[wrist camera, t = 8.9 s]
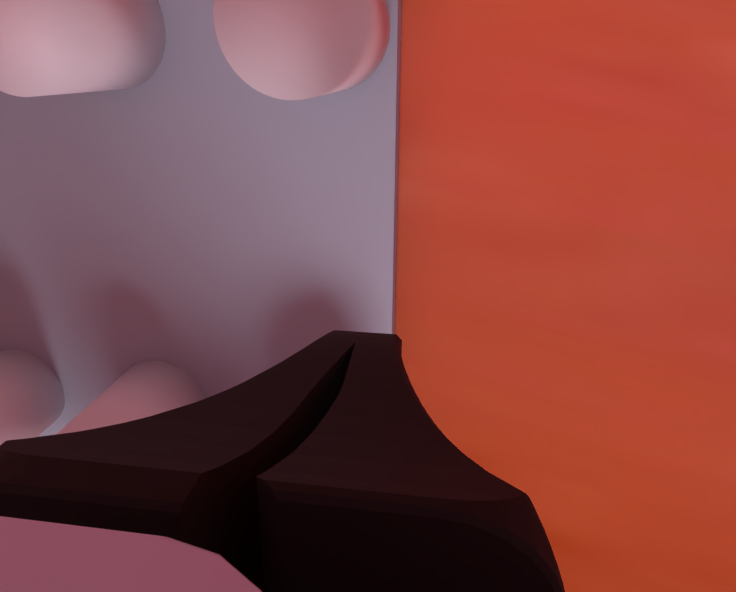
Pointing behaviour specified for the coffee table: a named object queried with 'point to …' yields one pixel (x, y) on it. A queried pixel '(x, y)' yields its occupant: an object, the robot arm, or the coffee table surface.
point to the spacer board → (187, 197)
